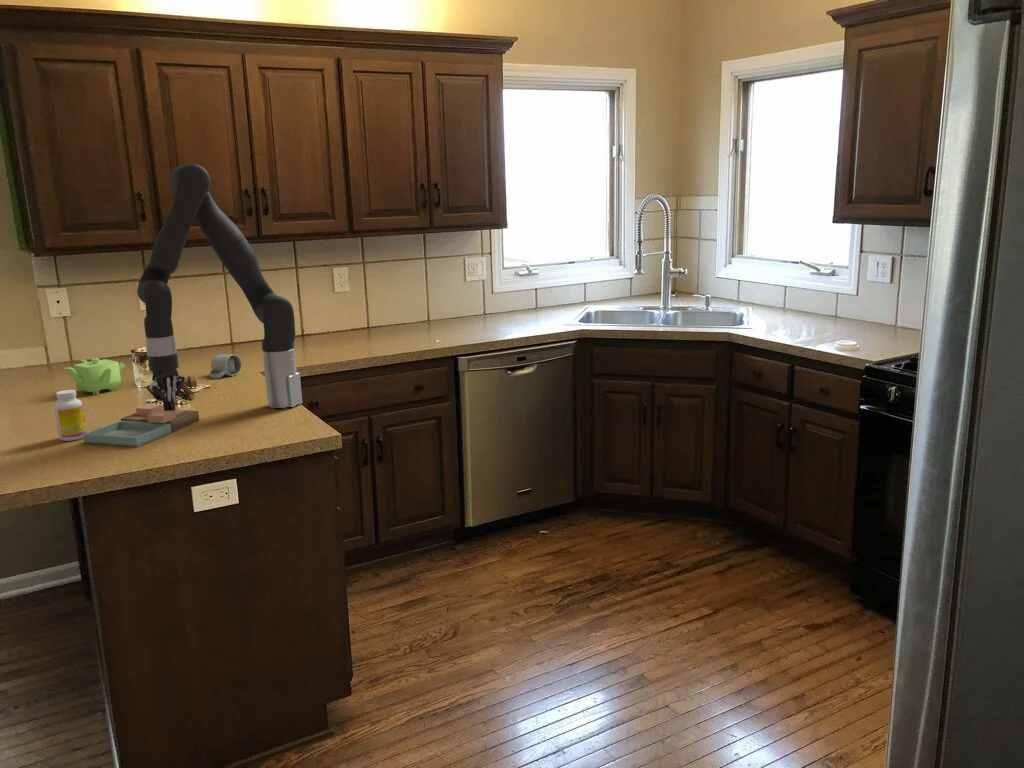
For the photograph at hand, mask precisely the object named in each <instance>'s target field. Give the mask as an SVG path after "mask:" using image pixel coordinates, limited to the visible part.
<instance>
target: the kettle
mask: <svg viewBox="0 0 1024 768" xmlns="http://www.w3.org/2000/svg"><path fill="white" fill-rule="evenodd" d="M80 361H81V362H82V363H76V364H73V365H72V366H73V367H64V368H63V369H65V370H68V371H69V372H70V374H71V376H72V378H73V380H74V381H75V383H76V389H77V390H80V391H84V392H89V393H91V394H97V395H99V394H98V393H100V392H101V391H103V390H107V391H108V390H109V391H108V392H112V391H111V390H115V391H116V387H121V386H122V380H121V379H122V378H121V372H122V371H123V370H124V369H125V368H126V367H127V366H126V364H124V362H119V361H116V360H111V359H100V358H99V357H95V358H90V361H87V360H86V359H81V360H80ZM100 394H101V393H100Z"/></svg>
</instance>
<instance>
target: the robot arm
mask: <svg viewBox="0 0 1024 768" xmlns="http://www.w3.org/2000/svg"><path fill="white" fill-rule="evenodd" d="M168 184H169V186H170V188H171V191H172V192H173V194H174V197H173V198H174V199H173V203H172V206H171V208H170V211H169V213H168V216H167V218H166V220H165V222H164V223H163V225H162V227H161V229H160V231H159V233H158V235H157V236H156V237H157V238H156V240H155V242H154V244H153V245H154V246H153V248H152V251H151V255H150V259H149V262H148V263H147V265H146V267H145V269H144V271H143V273H142V275H141V277H140V279H139V281H138V285H137V289H136V291H137V292H136V293H137V294H136V295H137V297H138V298H139V300H140V301H141V302H142V303H144V304H145V313H146V314H145V315H146V316H145V317H144V320H143V325H144V335H145V346H146V355H147V361H148V362H147V363H148V369H149V371H150V372H151V373H152V377H151V380H152V381H151V384H149V385H147V386H146V390H147V391H148V392H149V393H150V394H151V395H152V397H154V399H155V400H156V401H160V402H162V404H163V408H164V410H167V411H175V410H176V404H175V400H176V398H177V397H179V396H180V394H181V393H182V392H181V389H182V386H183V383H184V380H185V376H183V375H179V371H178V370H177V369H178V368H179V356H178V349H177V341H176V339H175V333H174V327H173V326H174V325H173V321H172V315H173V314H172V313H173V296H172V290H171V288H170V287H169V285H168V282H169V280H170V277H171V276H172V274H174V273H176V270H177V269H178V266H179V263H180V260H181V257H182V253H183V249H184V247H185V245H186V241H187V238H188V235H189V233H190V230H191V228H192V224H193V222H194V220H195V222H196V224H197V225H198V227H199V228H200V230H201V232H202V234H203V235H204V237H205V238H206V240H207V242H208V243H209V245H210V246H211V248H212V249H213V251H214V253H215V254H216V256H217V257H218V259H219V260H220V263H221V264H222V265H223V266H224V267H225V269H226V270H227V271H228V273H229V275H230V276H231V277H232V279H233V280H234V282H236V284H237V285H238V287H239V288H240V289H241V291H242V292H243V294H244V296H245V298H246V299H247V301H248V303H249V305H250V307H251V309H252V311H253V314H255V317H256V318H257V319H258V321H259V322H261V324H263V334H264V335H263V339H262V341H261V350H262V351H261V352H262V359H263V369H264V371H263V372H264V379H265V387H266V389H265V391H266V396H267V397H266V398H267V407H268V406H269V407H270V408H269V407H268V408H269V409H274V408H283V409H286V408H285V407H293V408H295V407H297V406H299V405H301V404H303V394H302V393H303V392H302V384H301V375H300V372H298V371H297V362H296V361H297V360H296V351H295V340H296V323H295V321H296V320H295V312H294V308H293V305H292V303H291V302H290V301H289V300H288V299H287V298H286V297H283V296H280V295H277V293H275V291H274V290H273V288H272V287H271V286H270V285H269V283H268V282H267V281H266V279H265V278H264V276H263V274H262V272H261V268H260V265H259V262H258V258H257V256H256V253H255V251H254V249H253V248H252V246H251V243H249V241H248V240H247V238H246V236H245V235H244V234H243V233H242V231H241V230H240V229H239V227H238V226H237V225H236V224H235V223H234V222H233V221H232V220H231V219H230V218H229V216H227V215H226V214H225V213H224V212H223V211H222V210H221V208H220V207H218V205H217V203H216V202H215V200H214V199H213V197H212V195H211V194H210V192H209V190H210V188H211V176H210V173H209V172H208V171H207V169H206V168H204V167H203V166H202V165H199V164H197V163H186V164H181V165H178V166H176V167H174V168H173V169H172V170H171V171H170V174H169V177H168ZM176 389H177V390H176ZM298 404H299V405H298ZM296 405H297V406H296ZM294 406H295V407H294Z"/></svg>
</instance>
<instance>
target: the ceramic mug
mask: <svg viewBox="0 0 1024 768" xmlns="http://www.w3.org/2000/svg"><path fill="white" fill-rule="evenodd" d="M210 365H211V371H210V372H209V373H208V374H209V377H210V378H211V379H213V380H216V379H220V378H222V377H224V376H227V377H228V376H229V377H235V376H234V375H236V376H238V375H239V374H240V372H241V370H242V361H241V358H240V356H239V355H237V354H233V353H231V354H218V355H216V356H214V357H213V358H212V360H211V362H210Z"/></svg>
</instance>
